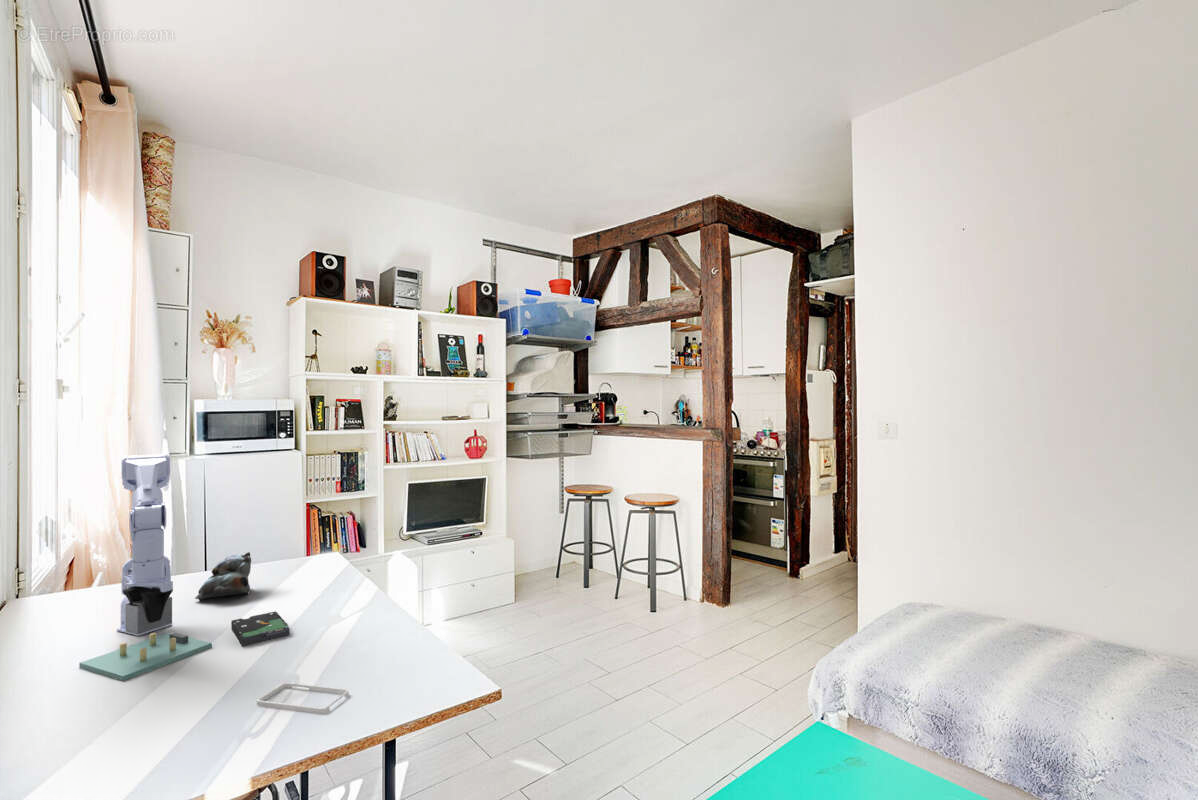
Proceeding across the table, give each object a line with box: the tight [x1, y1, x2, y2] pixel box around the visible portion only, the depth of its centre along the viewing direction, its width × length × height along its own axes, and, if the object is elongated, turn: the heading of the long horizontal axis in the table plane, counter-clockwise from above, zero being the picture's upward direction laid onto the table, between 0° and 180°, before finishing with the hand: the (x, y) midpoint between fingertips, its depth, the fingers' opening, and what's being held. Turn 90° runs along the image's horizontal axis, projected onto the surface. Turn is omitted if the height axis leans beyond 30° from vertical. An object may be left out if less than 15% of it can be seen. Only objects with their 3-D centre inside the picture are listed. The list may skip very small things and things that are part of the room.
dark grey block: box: [125, 596, 173, 634], centre depth 131 cm, size 4×7×6 cm, turn 157°
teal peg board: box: [78, 632, 213, 682], centre depth 130 cm, size 16×18×4 cm
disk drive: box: [230, 611, 290, 648], centre depth 144 cm, size 10×3×15 cm
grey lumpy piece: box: [194, 552, 252, 601], centre depth 173 cm, size 15×12×14 cm
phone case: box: [256, 682, 350, 714], centre depth 111 cm, size 7×1×15 cm
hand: (148, 619), depth 130 cm, fingers closed on dark grey block, 4 cm apart
